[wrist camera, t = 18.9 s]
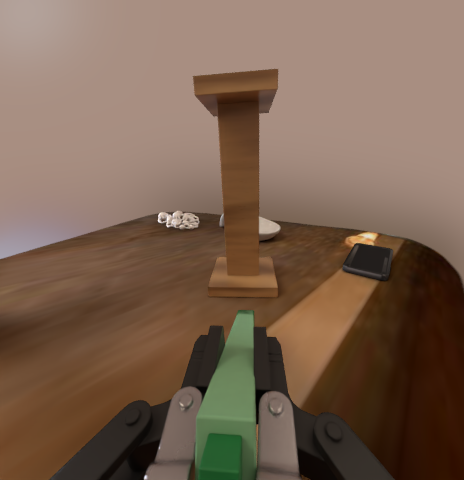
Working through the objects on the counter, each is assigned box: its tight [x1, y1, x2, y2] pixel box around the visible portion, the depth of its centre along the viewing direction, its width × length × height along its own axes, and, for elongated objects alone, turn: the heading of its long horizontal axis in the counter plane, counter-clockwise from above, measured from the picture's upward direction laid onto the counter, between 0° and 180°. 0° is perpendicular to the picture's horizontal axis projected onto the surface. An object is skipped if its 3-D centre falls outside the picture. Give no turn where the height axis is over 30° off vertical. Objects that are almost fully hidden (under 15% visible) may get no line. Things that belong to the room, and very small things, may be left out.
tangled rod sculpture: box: [158, 211, 200, 230], centre depth 81 cm, size 19×14×4 cm
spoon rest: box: [220, 213, 281, 241], centre depth 67 cm, size 24×12×7 cm, turn 40°
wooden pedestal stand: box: [193, 69, 278, 297], centre depth 37 cm, size 14×12×32 cm
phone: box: [343, 243, 393, 281], centre depth 47 cm, size 8×1×15 cm
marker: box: [195, 310, 257, 480], centre depth 15 cm, size 21×2×2 cm, turn 175°
